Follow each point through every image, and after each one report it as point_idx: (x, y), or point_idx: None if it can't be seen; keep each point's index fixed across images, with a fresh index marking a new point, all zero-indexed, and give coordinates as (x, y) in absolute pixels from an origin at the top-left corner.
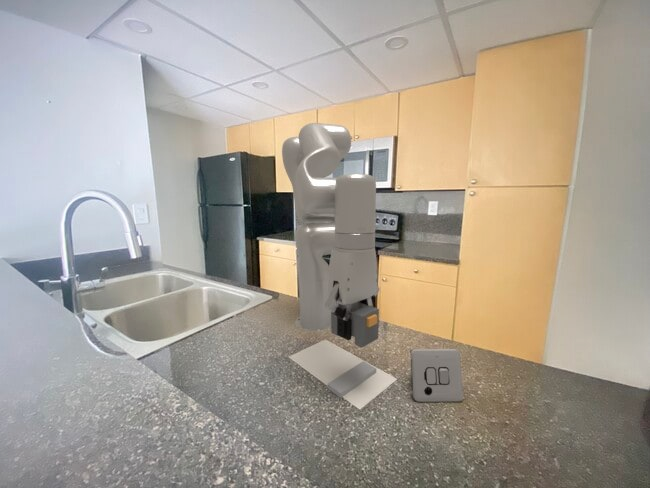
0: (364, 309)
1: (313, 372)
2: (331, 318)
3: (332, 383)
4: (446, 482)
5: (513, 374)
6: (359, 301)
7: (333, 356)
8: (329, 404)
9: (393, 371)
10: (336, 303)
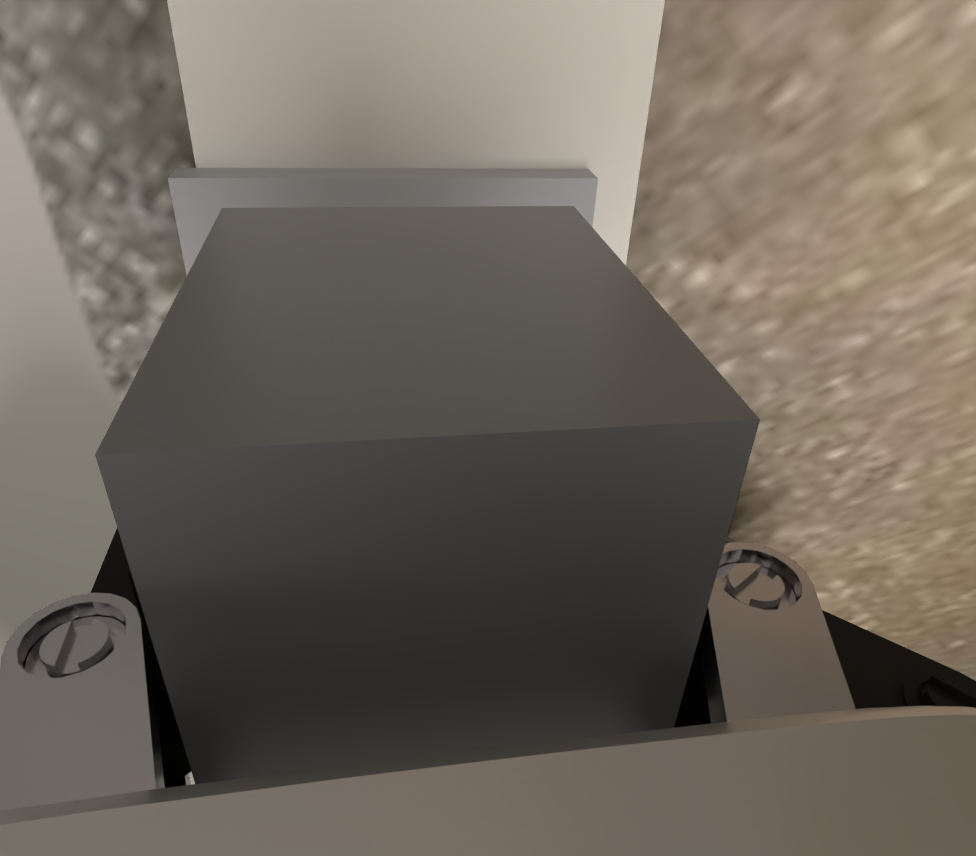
0: None
1: None
2: (178, 304)
3: (205, 202)
4: None
5: (965, 632)
6: (709, 678)
7: None
8: (142, 237)
9: (695, 308)
10: (273, 486)
